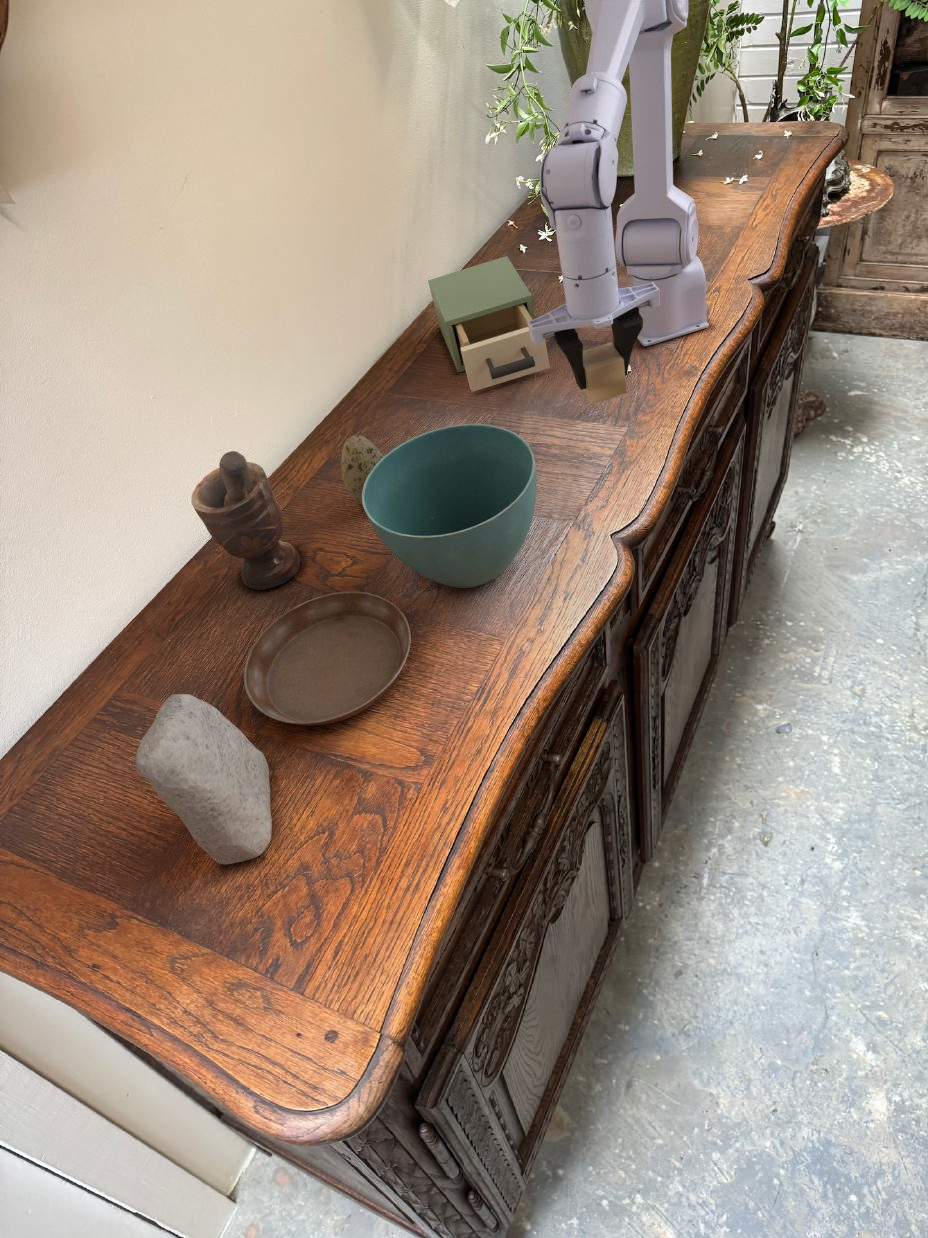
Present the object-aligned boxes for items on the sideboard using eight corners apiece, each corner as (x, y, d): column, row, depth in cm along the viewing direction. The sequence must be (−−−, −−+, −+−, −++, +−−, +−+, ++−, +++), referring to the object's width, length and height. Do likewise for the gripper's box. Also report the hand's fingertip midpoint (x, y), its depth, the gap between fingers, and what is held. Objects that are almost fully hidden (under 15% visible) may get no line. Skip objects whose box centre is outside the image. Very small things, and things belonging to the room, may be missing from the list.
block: (614, 374, 101) (611, 341, 97) (626, 392, 97) (623, 359, 94) (579, 385, 101) (575, 353, 97) (590, 404, 98) (586, 371, 94)
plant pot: (407, 642, 88) (373, 558, 79) (383, 536, 101) (352, 453, 92) (572, 591, 88) (556, 501, 79) (527, 491, 101) (510, 404, 92)
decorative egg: (349, 498, 107) (323, 434, 100) (392, 481, 108) (369, 416, 101) (361, 524, 103) (334, 459, 96) (405, 506, 104) (382, 440, 97)
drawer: (558, 383, 113) (552, 341, 109) (478, 408, 113) (468, 367, 109) (525, 325, 126) (518, 285, 122) (453, 348, 126) (443, 309, 122)
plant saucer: (320, 592, 96) (311, 574, 94) (448, 631, 88) (441, 612, 85) (221, 709, 87) (209, 691, 85) (353, 765, 79) (343, 747, 76)
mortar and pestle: (339, 559, 100) (277, 418, 85) (297, 609, 95) (224, 469, 81) (268, 540, 105) (198, 405, 91) (224, 587, 101) (144, 453, 86)
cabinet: (540, 347, 123) (531, 294, 117) (458, 372, 123) (445, 321, 117) (516, 305, 133) (506, 255, 127) (440, 328, 133) (427, 280, 127)
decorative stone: (223, 768, 82) (148, 673, 71) (281, 756, 81) (215, 658, 71) (208, 871, 74) (123, 781, 64) (272, 859, 74) (197, 766, 63)
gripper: (532, 303, 86) (551, 414, 95) (668, 260, 85) (673, 376, 95) (515, 275, 91) (535, 384, 100) (644, 235, 90) (651, 348, 100)
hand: (601, 378), depth 98 cm, fingers closed on block, 4 cm apart
